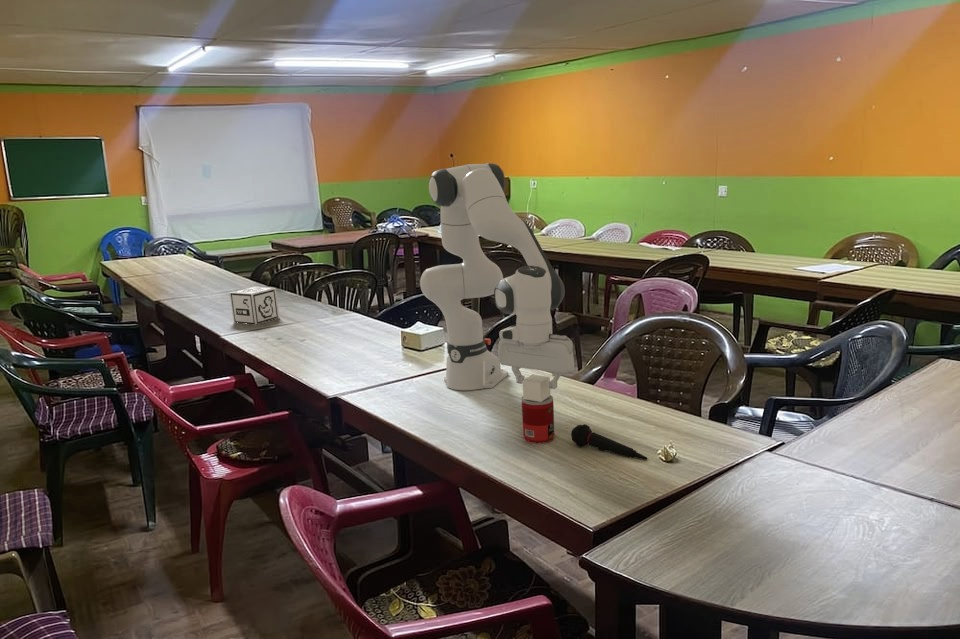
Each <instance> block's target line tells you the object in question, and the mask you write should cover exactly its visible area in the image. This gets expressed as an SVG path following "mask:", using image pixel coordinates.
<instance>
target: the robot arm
mask: <svg viewBox="0 0 960 639" xmlns="http://www.w3.org/2000/svg"><path fill="white" fill-rule="evenodd" d="M428 182H429V183H428V191H429V195H430V198H431V200H432V202H433V203H434V204H435V205H437V206H439V207H440V232H441V243H442V247H443V249H444V250H445V251H447V252H448V253H450V254H452V255H454V256H457V257H460V259H462V262H461V263H454V264H441V265H435V266H431V267H429V268H426V269H425V270H424V271H423V272H422V274H421V276H420V280H419V286H420V290H421V292H422V294H423V296H424V297H426V298H427V299H428V300H429V301H431V302H432V303H433V304H435V305H436V306H437V307H438V309H439V310H440V311H441V312H442V315H443V318H444V321H445V323H446V324H445V325H446V330H447V339H448V340H447V342H446V350H447V354H448V356H446V363H445V364H446V366H445V367H446V368H445V373H446V374H445V376H444V377H443V378H444V379H443V380H444V382H445V386H446V387H447V388H449V389H450V390H454V391H455V390H456V391H474V390H475V391H476V390H480V389H481V390H482V389H492V388H494V387H495V386H496V385H498V384H499V383H500V382H502V381H503V380H504V379H505V378H506V377H508V375H509V371H508V370H506V369H502V368H501V366H505V367H506V366H507V367H511V372H512V373H513V374H514V376H515V380H516V382H515V383H516V384H522V385H523V380H524V379H526V378H525V375H523V374H522V373H521V371H520V369H528V370H535V371H541V372H549V373H551V375H552V377H553V379H552V380H551V379H550V381H549V388H550V390H551V389H552V390H555V389H557V388H558V380H560V378H561V376H562V374H563V375H567V374H568V375H569V373H571V372H573V370H574V369H575V357H574V353H573V352H574V351H573V350H574V346H573V345H574V344H573V341H572V340H571V339H570V338H569V337H568V336H567V335H560V334H556V333H555V334H553V318H552V315H551V314H552V313H551V311H554V310H556V309H557V308H558V307H559V306H560V305H561V303H562V302H563V300H564V298H565V295H566V294H565V293H566V290H565V284H564V282H563V279H561V277H560V275H559V273H557V272H556V271H555V270H556V269H554V268H553V266H552V265H551V263H550V261H549V259H548V257H547V256H546V254H545V252H544V250H543V248H542V246H541V244H540V243H539V241H538V238H537V236H536V235H535V233H534V232H533V230H532V229H531V227H530V225H529V224H528V223H527V221H525V220H523V219H521V218H520V217H519V216H518V215H517V214H516V213H515V212H514V210H513V209H512V208H511V207H510V205H509V202H508V200H507V198H506V194H505V190H506V177H505V174H504V171H503V169H502V168H501V167H500V166H499V164H496V163H489V162H486V163H471V164H470V163H469V164H468V163H467V164H464V165H460V166H459V165H458V166H453V167H450V168H449V167H448V168H441V169H437V170H435V171H433V172H432V174H431V175H430V177H429V181H428ZM479 236H480V237H481V238H483V239H485V240H488V241H491V242H497V243H501V244H504V245H507V246H510V247H513V248H515V249H516V250H518V251H519V252H520V254H521V255H522V257H523V259H524V260H525V263H526V264H527V265H524V266H521V267H519V268H518V269H516V270H515V273H514V274H512V275H510V276H506V277H504V275H503V272H502V270H501V268H500V267H499V266H498V265H497V264H496V263H495V262H494V261H492V260H491V259H489V258H488V257H487V256H486V254H485V253H484V252H483V249H482V247H481V243H480V238H479ZM489 296H494V297H493V300H494V303H495V307H496V308H497V309H498V310H500V311H501V313H503V314H505V315H516V320H515V323H516V324H513V325H511V326H508V327H506V328H503V329H501V330H500V331H499V333H498V334H499V338H500V340H499V341H498V345H497V346H498V347H497V348H498V349H497V352H498V353H497V354H498V355H495V354H494V353H493V352H491V351H490V350H488V346H489V345H490V346H491V343H492V341H491V338H486V337H485V338H484V336H483V335H484V333H483V332H484V331H483V320H482V316H481V315H480V314H479V312H478V311H475V310H473V309H470V308H468V307H466V306H464V305H463V304H462V302H461V301H462V300H465V299H475V298H476V299H477V298H485V297H489Z"/></svg>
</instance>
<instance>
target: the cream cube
mask: <svg viewBox="0 0 960 639" xmlns="http://www.w3.org/2000/svg"><path fill="white" fill-rule="evenodd" d="M549 381H551V377H550V376H546V375H538V374H531V375H529V376H527V377H526V378H524V380H523V384H522V395H523V396H522V397H523V399H526V400H532V401H538V402H542V401H543V400H545V399H546V398H548V397H549V396H551V395H552V394H551V388H549Z"/></svg>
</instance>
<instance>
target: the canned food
mask: <svg viewBox="0 0 960 639" xmlns="http://www.w3.org/2000/svg"><path fill="white" fill-rule="evenodd" d="M550 395H551V396H549V397H548V398H546V399H545V400H543V401H542V402H538V401H532V400H526V399H523V396H522V397H521V412H522V413H521V416H522V418H521V419H522V433H523V438H524V440H525V441H526V442H528V443H530V444H531V443H532V444H545V443H549V442H551V441H553V440H554V438H555V410H554V408H555V407H554V404H555V403H554V397H553V395H552V394H550Z"/></svg>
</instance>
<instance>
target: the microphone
mask: <svg viewBox="0 0 960 639" xmlns="http://www.w3.org/2000/svg"><path fill="white" fill-rule="evenodd" d="M570 436H571V441H573V443H575V445H576V446H577V447H579V448H581V447H585V446H587V445H589V446H591V447H594V448H596V449H597V450H598V451H602V452H605V451H607V452H609V453H612V454H615V455H619V456H623V457H626V458H631V459H634V458H635V459H639V460H644V461H648V457H647V456H645V455H643V454H641V453H639V452H637V450H635V449H634V448H632V447H629V446H627V445H625V444H623V443H620V442H618V441H616V440H613V439H611V438H608V437H606V436H604V435H602V434H599V433H596V432H594V431H593V430H592V429H591V426H589V425H587V424H585V423H583V424H578V425H575V426H574V427H573V428H572V430H571V433H570Z"/></svg>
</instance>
